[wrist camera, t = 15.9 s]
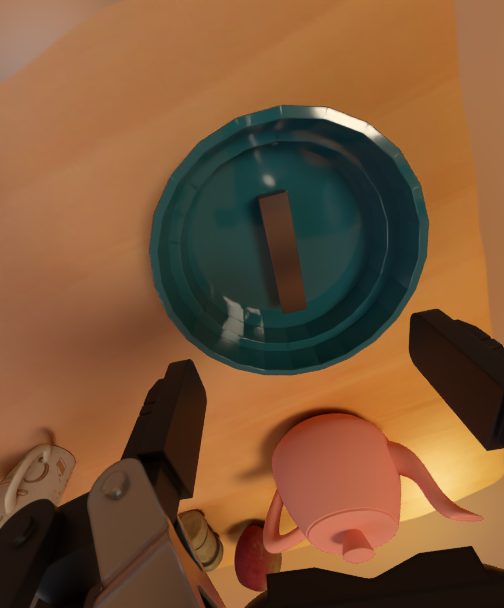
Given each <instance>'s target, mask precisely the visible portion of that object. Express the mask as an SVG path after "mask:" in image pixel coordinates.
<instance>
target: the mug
mask: <svg viewBox="0 0 504 608" xmlns="http://www.w3.org/2000/svg"><path fill="white" fill-rule="evenodd" d="M74 466H75V459H74V457H73V456H72V455H71V454H70V453H69V452H68V451H66V450H64V449H62V448H60V447H57V446H52V445H49V444H46V443H43V444H40V445H38V446H36V447H35V448H33V449H32V450H31V451H30V452H29V453H28V454H27V455H26V456H25V457H24V458H23V459H22V460H21V461H20V462H19V463H18V464H17V465H16V466H15V467H14V469H13V470H12V471H11V472H10V473H9V474H8V475H7V476H6V477H5V478H4V479H3V480H2V481H1V482H0V528H1V527H2V526H3V525H4V523H5V522H6V521H7V520H8V519H9V518H10V517H11V516H12V515H13V514H15V513H16V512H17V511H18V510H20V509H21V508H22V507H24V506H25V505H27V504H29V503H31V502H33V501H35V500H38V499H48V500H50V501H51V502H53V503H54V504H55V505H56V506H57V507H58V504H59V502H60V500H61V497H62V495H63V492H64V490H65V488H66V485H67V483H68V481H69V478H70V476H71V474H72V471H73V469H74Z"/></svg>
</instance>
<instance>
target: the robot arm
mask: <svg viewBox="0 0 504 608" xmlns="http://www.w3.org/2000/svg"><path fill="white" fill-rule="evenodd" d="M409 354H410V357H411V359H412V362H413V363H414V365H415V366H416V367H417V369H418V370H419V371H420V372H421V373H422V375H423V376H424V377H425V378H426V379H427V380H428V382H429V383H430V384H431V385H432V386H433V388H434V389H435V390H436V391H437V392H438V393H439V395H440V396H441V397H442V398H443V399H444V401H445V402H446V403H447V404H448V405H449V407H450V408H451V409H452V410H453V411H454V412H455V414H456V415H457V416H458V417H459V418H460V420H461V421H462V422H463V423H464V424H465V425H466V427H467V428H468V429H469V430H470V431H471V433H472V434H473V435H474V436H475V437H476V439H477V440H478V441H479V442H480V443H481V444H482V446H483V447H484V448H485V449H486V450H487V451H490V450H496V449H502V448H504V347H503V346H502V344H500V343H499V342H497V341H496V340H495V339H491V337H490V336H489V335H487V334H486V333H485V332H483V331H482V330H480V329H479V328H478V327H476V326H473V325H471V324H468V323H466V322H463V321H461V320H453V319H451V318H450V317H449V316H447V315H446V314H445V313H443V312H442V311H441V310H439V309H432V310H427V311H423V312H418V313H413V314H412V315H411V318H410V334H409ZM206 405H207V398H206V392H205V388H204V386H203V384H202V381H201V379H200V377H199V374H198V372H197V370H196V367H195V365H194V363H193V361H192V360H191V359H188V360H183V361H178V362H173V363H170V364H169V366H168V369H167V371H166V374H165V377H164V379H159V380H158V381H157V382H156V383H155V384H154V385H153V387H152V388H151V389H150V390H149V392H148V394H147V397H146V399H145V402H144V406H142V409H141V411H140V414H139V415H140V416H139V417H138V419H137V421H136V423H135V426H134V428H133V431H132V433H131V436H130V438H129V441H128V443H127V445H126V448H125V450H124V453H123V455H122V458H121V460H120V461H118V462H116V463H114V464H113V465H111V466H110V467H108V468H107V469H106V470H105V471H104V472H103V473H102V474H101V475H100V476H99V477H98V479H97V480H96V481H95V483H94V484H93V486H92V488H91V490H90V491H89V492H88V493H86V494H84V495H82V496H80V497H77V498H75V499H73V500H71V501H69V502H67V503H65V504H63V505H61V506H59V507H57V506H56V505H55V504H54V503H53V502H51V501H50V500H48V499H38V500H35V501H33V502H31V503H29V504H27V505H25V506H24V507H22V508H21V509H20V510H18V511H17V512H16V513H15V514H13V515H12V516H11V517H10V518H9V519H8V520H7V521H6V522H5V523H4V525H3V526H2V527H1V528H0V608H30V605H31V603H32V601H33V599H34V596H37V597H38V598H39V599H38V601H37V603H36V606H35V608H226V607H225V605H224V603H223V601H222V599H221V598H220V596H219V594H218V592H217V591H216V589H215V588H214V586H213V584H212V582H211V580H210V579H209V577H208V575H207V573H206V571H205V569H204V567H203V565H202V563H201V561H200V559H199V557H198V555H197V552H196V550H195V548H194V546H193V544H192V542H191V540H190V538H189V536H188V534H187V532H186V530H185V528H184V526H183V524H182V522H181V520H180V518H179V516H178V514H177V512H178V507H179V501H180V500H182V499H188V498H193V492H194V485H195V478H196V472H197V465H198V458H199V452H200V445H201V438H202V432H203V425H204V418H205V412H206ZM266 578H267V590H266V591H265V592H263V593H261V594H260V595H258V596H257V597H256V598H254V599H253V600H252V601H251V602H249V603H248V605H247V606H246V607H245V608H504V569H500V568H497V567H494V566H491V565H487V564H482V562H481V561H480V559H479V557H478V556H477V554H476V552H475V551H474V549H473V547H472V546H468V547H461V548H453V549H446V550H438V551H431V552H424V553H419V554H417V555H415V556H413V557H411V558H410V559H408V560H406V561H404V562H402V563H400V564H399V565H397V566H395V567H393V568H391V569H390V570H388V571H386V572H384V573H382V574H381V575H379V576H377V577H375V578H370V579H368V578H362V577H357V576H353V575H348V574H343V573H338V572H334V571H329V570H324V569H319V568H315V567H314V568H308V569H300V570H292V571H285V572H278V573H270V574H266ZM101 587H102V589H101ZM100 590H101V591H100Z"/></svg>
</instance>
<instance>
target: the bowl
mask: <svg viewBox="0 0 504 608" xmlns="http://www.w3.org/2000/svg"><path fill="white" fill-rule="evenodd" d="M279 189H285V190H286V191H288V196H289V202H290V208H291V214H292V220H293V226H294V232H295V238H296V244H297V250H298V256H299V262H300V268H301V274H302V280H303V286H304V292H305V298H306V304H307V309H304V310H299V311H295V312H290V313H285V314H283V312H282V308H281V304H280V299H279V295H278V290H277V286H276V281H275V276H274V272H273V267H272V262H271V258H270V253H269V249H268V244H267V239H266V235H265V230H264V226H263V221H262V216H261V212H260V207H259V202H258V198H257V195H260V194H264V193H268V192H272V191H275V190H279ZM428 229H429V219H428V215H427V211H426V206H425V202H424V197H423V193H422V188H421V185H420V182H419V181H418V179H417V177H416V176H415V174H414V172H413V171H412V169H411V167H410V166H409V164H408V162H407V160H406V159H405V157H404V155H403V154H402V152H401V151H400V149H399V148H398V147H396V146H395V145H394V144H393V143H392V142H391V141H389V140H388V139H387V138H386V137H385V136H384V135H382V134H381V133H380V132H379V131H378V130H376V129H375V128H374V127H373V126H372V125H371V124H369V123H368V122H366V121H363V120H360V119H358V118H355V117H353V116H350V115H348V114H345V113H342V112H340V111H337V110H335V109H332V108H329V107H323V106H298V105H279V106H276V107H272V108H269V109H265V110H261V111H258V112H254V113H251V114H247V115H244V116H240V117H237V118H235V119H234V120H232V121H230V122H229V123H227V124H226V125H224V126H223V127H221V128H220V129H218V130H217V131H215V132H214V133H212V134H211V135H209V136H208V137H206V138H205V139H203V140H202V141H200V142H199V144H197V145H196V146H195V147H194V148H193V149H192V151H191V152H190V153H189V154H188V155H187V157H186V158H185V159H184V160H183V161H182V163H181V164H180V165H179V166H178V167H177V169H176V170H175V171H174V172H173V173H172V175H171V177H170V178H169V180H168V182H167V185H166V187H165V189H164V191H163V194H162V196H161V198H160V201H159V203H158V205H157V208H156V210H155V212H154V217H153V224H152V232H151V240H150V248H149V254H150V260H151V267H152V274H153V280H154V285H155V288H156V290H157V293H158V295H159V297H160V299H161V302H162V304H163V306H164V308H165V311H166V313H167V315H168V316H169V318H170V319H171V320H172V321H173V323H174V324H175V325H176V326H177V328H178V329H179V330H180V331H181V333H182V334H183V335H184V337H185V338H186V339H187V340H188V341H190V342H191V343H192V344H193V345H195V346H196V347H197V348H199V349H200V350H201V351H203V352H204V353H205V354H206V355H208V356H209V357H211V358H213V359H215V360H218V361H220V362H222V363H224V364H226V365H228V366H231V367H233V368H235V369H239V370H243V371H248V372H252V373H257V374H262V375H297V374H302V373H307V372H312V371H318V370H321V369H325V368H327V367H330V366H332V365H335V364H337V363H339V362H342V361H344V360H347V359H349V358H351V357H352V356H354V355H355V354H357V353H358V352H360V351H361V350H363V349H364V348H366V347H367V346H369V345H370V344H372V343H373V342H375V341H376V340H377V339H378V338H379V337H380V336H381V335H382V334H383V333H384V332H385V331H386V330H387V329H388V328H389V327H390V326H391V325H392V324H393V323H394V322H395V321H396V320H397V318H398V317H399V316H400V314H401V312H402V311H403V309H404V308H405V306H406V304H407V303H408V301H409V300H410V298H411V297H412V295H413V293H414V292H415V290H416V287H417V284H418V281H419V278H420V275H421V272H422V269H423V266H424V263H425V260H426V257H427V245H428Z"/></svg>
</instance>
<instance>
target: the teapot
mask: <svg viewBox="0 0 504 608" xmlns="http://www.w3.org/2000/svg"><path fill="white" fill-rule="evenodd" d="M272 469H273V475H274V479H275V482H276V486H277V490H276V492H275V495H274V497H273V500H272V503H271V505H270V508H269V511H268V514H267V517H266V520H265V524H264V530H263V544H264V547H265V549H266V550H267V551H268V552H270V553H272V554H273V553H281V552H283V551H286V550H288V549H290V548H292V547H293V546H295V545H297V544H298V543H300V542H301V541H303V540H304V539H305V538H307V540H308V541H309V542H310V543H311V544H312V545H313V546H314V547H316V548H317V549H319V550H321V551H323V552H326V553H331V554H343V559H344V560H345V561H347V562H350V563H363V562H367V561H369V560H370V559H372V558H373V557H374V556H375V553H374V550H373V549H374V548H377V547H379V546H381V545H383V544H385V543H387V542H388V541H390V540H391V539H392V538H393V537H394V536H395V535H396V532H397V530H398V526H399V520H400V507H401V481H400V475H402V476H405V477H408V478H410V479H412V480H413V481H414V482H415V483H417V485H418V486H419V487H420V489H421V490H422V492H423V493H424V495H425V496H426V498H427V499H428V501H429V502H430V504H431V505H432V506H433V507H434V508H435V509H436V510H437V511H438V512H439V513H440V514H442V515H443V516H445V517H447V518H449V519H452V520H456V521H482V520H484V518H483V517H481V516H479V515H477V514H474V513H472V512H470V511H467V510H465V509H463V508H460V507H459V506H457V505H456V504H455V503H454V502H452V501H451V500H450V499H449V498H448V497H447V496H446V495H445V494H444V493H443V492H442V491H441V489H440V488H439V487H438V485H437V484H436V482H435V481H434V479H433V478H432V476H431V475H430V473H429V472H428V470H427V469H426V467H425V466H424V464H423V463H422V462H421V460H420V459H419V458H418V457H417V456H416V455H415V454H414V453H413V452H412V451H411V450H409V449H408V448H407V447H405V446H403V445H401V444H399V443H396V442H392V441H389V440H388V439H387V437H386V436H385V435H384V434H383V433H382V431H381V430H380V429H378V428H377V427H376V426H375V425H373V424H371V423H369V422H367V421H365V420H363V419H361V418H358V417H356V416H353V415H349V414H342V413H332V414H324V415H319V416H315V417H312V418H309V419H307V420H304V421H302V422H300V423H299V424H297V425H296V426H294V427H293V428H291V429H290V430H289V431H288V432H287V433H286V434H285V436H284V437H283V438H282V439H281V440H280V442H279V443H278V445H277V447H276V448H275V451H274V453H273V457H272ZM283 503H284V505H285V507H286V509H287V510H288V512H289V514H290V515H291V517H292V518H293V520H294V522H295V523H296V525H297V526H298V527H297V528H295V529H294V530H292V531H291V532H289V533H287V534H285V535H280V534H279V523H280V516H281V511H282V507H283Z"/></svg>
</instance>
